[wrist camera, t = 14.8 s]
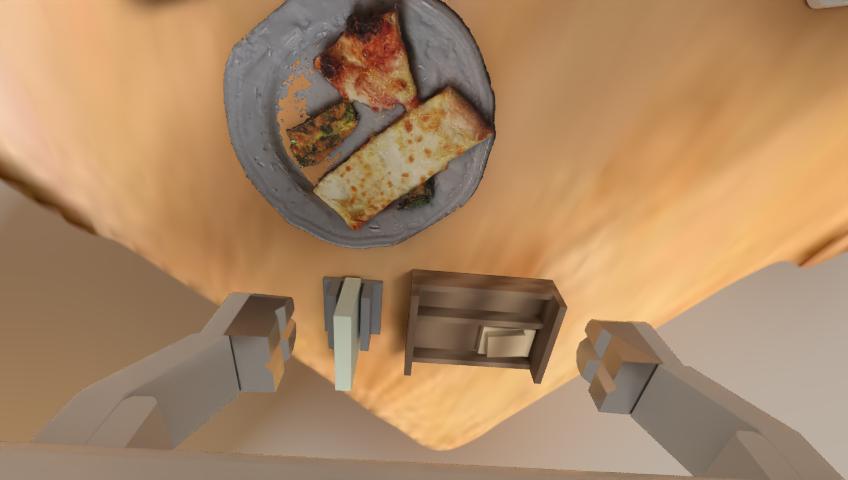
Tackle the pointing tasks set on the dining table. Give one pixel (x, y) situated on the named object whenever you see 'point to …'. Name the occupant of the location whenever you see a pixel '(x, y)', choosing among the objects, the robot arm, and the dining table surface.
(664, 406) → the robot arm
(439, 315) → the rack
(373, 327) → the stand
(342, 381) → the board
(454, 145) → the food plate
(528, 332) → the offcut lower
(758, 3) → the dining table surface
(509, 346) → the offcut upper
